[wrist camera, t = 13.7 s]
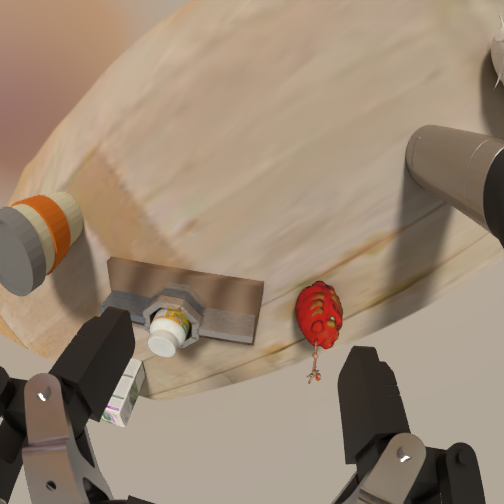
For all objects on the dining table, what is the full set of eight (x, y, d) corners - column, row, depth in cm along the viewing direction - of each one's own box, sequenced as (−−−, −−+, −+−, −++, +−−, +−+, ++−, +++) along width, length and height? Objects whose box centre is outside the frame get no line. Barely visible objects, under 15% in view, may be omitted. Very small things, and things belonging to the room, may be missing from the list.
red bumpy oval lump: (346, 304, 44) (366, 377, 31) (309, 324, 46) (316, 398, 33) (324, 270, 42) (341, 342, 28) (284, 293, 44) (285, 368, 31)
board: (264, 281, 43) (263, 287, 42) (253, 339, 49) (253, 345, 47) (111, 256, 44) (106, 261, 42) (119, 313, 49) (116, 318, 48)
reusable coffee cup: (101, 206, 40) (39, 250, 26) (80, 263, 45) (31, 313, 32) (49, 167, 37) (-17, 196, 24) (34, 225, 42) (-20, 264, 29)
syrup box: (118, 354, 55) (91, 405, 42) (143, 360, 55) (118, 414, 42) (123, 370, 57) (100, 420, 44) (147, 376, 57) (126, 428, 44)
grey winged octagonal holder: (258, 296, 43) (256, 317, 38) (251, 337, 47) (248, 359, 42) (110, 271, 43) (96, 287, 39) (117, 311, 47) (105, 329, 42)
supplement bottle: (157, 298, 45) (135, 338, 36) (183, 286, 43) (163, 327, 34) (176, 322, 46) (159, 364, 38) (202, 312, 45) (188, 356, 36)
